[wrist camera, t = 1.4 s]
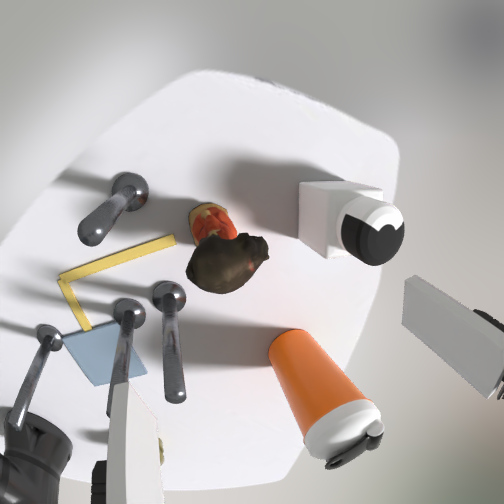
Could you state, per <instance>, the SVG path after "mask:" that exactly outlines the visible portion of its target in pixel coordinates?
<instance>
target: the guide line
mask: <svg viewBox="0 0 504 504" xmlns="http://www.w3.org/2000/svg"><path fill="white" fill-rule="evenodd" d="M174 245H177V244H176V241H175V238H174V235H173V234H171V235H168V236H165V237H162V238H159V239H156V240H153V241H150V242H148V243H145V244H142V245H139V246H136V247H133V248H130V249H128V250H125V251H122V252H119V253H116V254H113V255H111V256H108V257H105V258H102V259H100V260H97V261H94V262H92V263H89V264H86V265H84V266H81V267H78V268H76V269H73V270H70V271H68V272H65V273H63V274H60V275H59V276H60V278H61V280H58V283H59V285H60V287H61V289H62V291H63V293H64V295H65V297H66V299H67V301H68V303H69V305H70V307H71V309H72V310H73V312H74V314H75V316H76V318H77V319H78V321H79V323H80V325H81V326H82V328H83V330H84V332H86V331H89V330H92V327H91V325H90V323H89V321H88V320H87V318H86V316H85V314H84V312H83V311H82V309H81V307H80V305H79V303H78V301H77V299H76V297H75V295H74V293H73V291H72V289H71V287H70V285H69V283H68V282H71V281H74V280H77V279H79V278H82V277H85V276H88V275H90V274H93V273H96V272H99V271H101V270H104V269H107V268H110V267H113V266H115V265H118V264H121V263H124V262H127V261H130V260H133V259H136V258H138V257H141V256H144V255H147V254H150V253H153V252H156V251H159V250H162V249H165V248H168V247H171V246H174Z"/></svg>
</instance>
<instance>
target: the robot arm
mask: <svg viewBox="0 0 504 504" xmlns="http://www.w3.org/2000/svg"><path fill="white" fill-rule="evenodd" d="M402 325H403V326H404V327H406V328H407V329H408V330H409V331H410V332H411V333H413V334H414V335H415V336H416V337H417V338H419V339H420V340H421V341H422V342H423V343H424V344H426V345H427V346H428V347H429V348H430V349H432V351H434V352H435V353H436V354H437V355H438V356H439V357H441V358H442V359H443V360H444V361H445V362H446V363H447V364H448V365H450V366H451V367H452V368H453V369H454V370H455V371H456V372H457V373H459V374H460V375H461V376H462V377H463V378H464V379H465V380H466V381H467V382H468V383H470V384H471V385H472V386H473V387H474V388H475V389H476V390H477V391H478V392H479V393H480V394H482V395H483V396H484V397H485V398H486V399H488V398H489V397H490V396H491V395H492V394H493V393H494V392H495V391H496V390H497V388H498V386H499V384H500V382H501V381H503V382H504V325H503V324H502V323H499V321H497V320H496V319H493V317H491V316H490V315H488V314H487V313H485V312H483V311H480V310H477V309H474V310H473V311H472V310H470V309H469V308H467V307H466V306H464V305H462V304H461V303H459V302H458V301H456V300H455V299H453V298H452V297H450V296H449V295H447V294H446V293H444V292H443V291H441V290H439V289H438V288H436V287H435V286H433V285H431V284H430V283H428V282H426V281H425V280H423V279H421V278H420V277H418V276H417V275H414V276H412V277H410V278H408V279H406V280H405V286H404V303H403V316H402ZM503 392H504V385H503V387H502V388H501V390H500V392H499V394H498V397H497V399H498V400H499V399H500V397H501V396H502V394H503ZM502 399H504V395H503V397H502ZM11 412H12V411H11ZM11 412H9V413H8V414H7V416H6V419H5V422H4V429H5V452H4V456H3V455H2V454H1V453H0V504H58V494H59V481H60V475H61V473H62V472H63V470H64V468H65V467H66V465H67V462H68V461H69V460H70V458H71V455H72V448H73V446H72V443H71V441H70V439H69V438H68V437H67V436H66V435H65V434H64V433H63V432H62V431H61V430H60V429H58V428H57V427H56V426H54V425H53V424H51V423H50V422H48V421H46V420H44V419H42V418H40V417H38V416H36V415H34V414H31V413H28V412H27V413H26V417H25V420H24V423H23V426H22V429H21V431H16V430H14V429H12V428H11V427H10V426H9V425H8V420H9V417H10V414H11ZM91 493H92V495H91V504H165V500H164V493H163V484H162V475H161V465H160V454H159V440H158V423H157V417H156V416H155V415H154V414H153V412H152V411H151V410H150V409H149V407H148V406H147V405H146V403H145V402H144V401H143V399H142V398H141V397H140V396H139V394H138V393H137V391H136V390H135V389H134V387H133V386H132V385H131V383H130V382H125V383H121V384H116V385H114V390H113V398H112V406H111V415H110V425H109V437H108V452H107V460H104V461H97V462H96V464H95V467H94V469H93V471H92V486H91Z"/></svg>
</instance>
